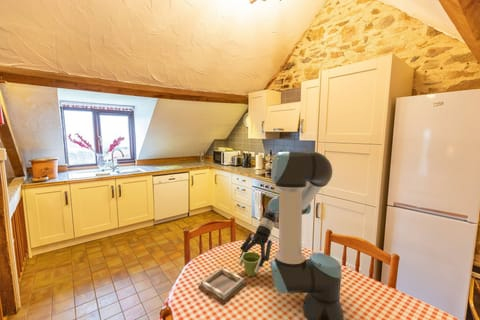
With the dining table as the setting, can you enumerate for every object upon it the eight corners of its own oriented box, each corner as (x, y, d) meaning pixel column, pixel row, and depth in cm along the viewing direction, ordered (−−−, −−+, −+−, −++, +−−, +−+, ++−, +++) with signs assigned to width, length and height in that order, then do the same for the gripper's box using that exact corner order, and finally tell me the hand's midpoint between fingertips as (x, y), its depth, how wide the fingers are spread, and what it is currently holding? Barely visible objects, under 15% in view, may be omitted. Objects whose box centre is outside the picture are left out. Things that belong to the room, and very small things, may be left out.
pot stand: (246, 284, 107) (246, 278, 106) (223, 304, 94) (223, 297, 94) (221, 271, 117) (221, 265, 116) (198, 287, 104) (198, 281, 104)
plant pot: (260, 278, 111) (261, 262, 110) (241, 278, 111) (242, 262, 110) (259, 267, 120) (259, 252, 119) (242, 267, 120) (242, 252, 119)
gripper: (285, 236, 119) (269, 279, 108) (251, 226, 132) (234, 263, 122) (280, 230, 114) (263, 274, 103) (246, 220, 128) (227, 258, 117)
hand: (247, 268), depth 113 cm, fingers closed on plant pot, 9 cm apart
